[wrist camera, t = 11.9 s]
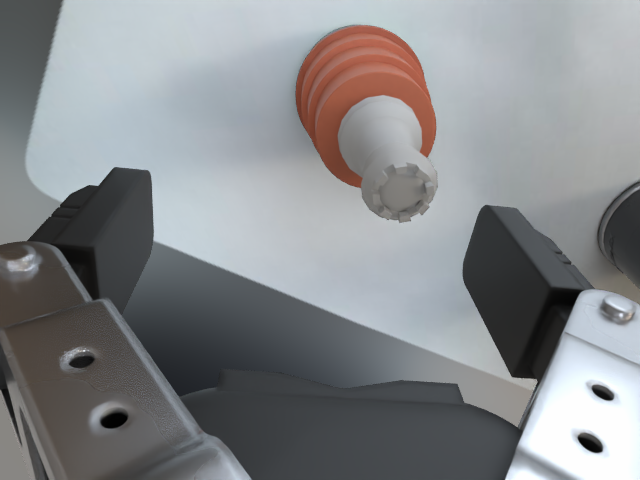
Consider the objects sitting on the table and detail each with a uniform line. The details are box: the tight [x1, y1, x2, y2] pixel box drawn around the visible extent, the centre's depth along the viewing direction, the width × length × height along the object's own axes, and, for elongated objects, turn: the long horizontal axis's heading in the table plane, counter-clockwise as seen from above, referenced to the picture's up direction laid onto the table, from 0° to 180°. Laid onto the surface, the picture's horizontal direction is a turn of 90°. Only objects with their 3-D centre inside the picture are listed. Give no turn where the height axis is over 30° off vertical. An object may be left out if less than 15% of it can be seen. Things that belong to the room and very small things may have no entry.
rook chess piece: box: [338, 95, 438, 223], centre depth 24 cm, size 4×4×8 cm
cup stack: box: [296, 25, 436, 188], centre depth 32 cm, size 9×9×12 cm
